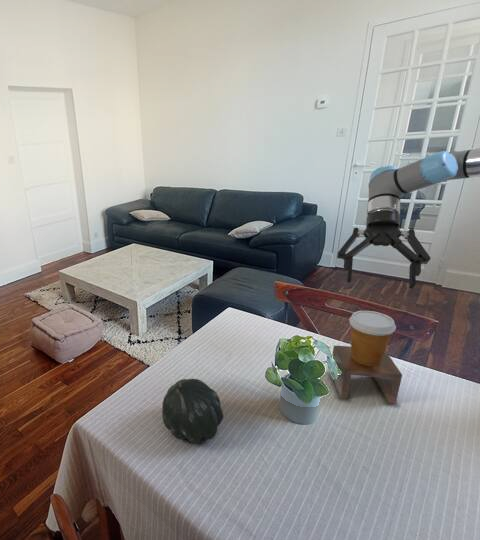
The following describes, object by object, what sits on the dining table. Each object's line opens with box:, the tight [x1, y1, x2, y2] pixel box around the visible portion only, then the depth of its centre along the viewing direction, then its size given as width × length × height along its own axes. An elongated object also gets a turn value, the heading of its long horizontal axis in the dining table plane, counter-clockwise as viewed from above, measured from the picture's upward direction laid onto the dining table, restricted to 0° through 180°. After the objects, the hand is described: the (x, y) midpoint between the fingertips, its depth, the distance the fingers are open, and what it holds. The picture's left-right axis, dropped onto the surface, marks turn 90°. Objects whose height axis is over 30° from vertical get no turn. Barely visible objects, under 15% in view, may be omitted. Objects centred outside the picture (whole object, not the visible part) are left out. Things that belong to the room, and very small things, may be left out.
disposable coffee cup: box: [348, 310, 397, 366], centre depth 86 cm, size 10×10×12 cm
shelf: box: [331, 345, 403, 405], centre depth 90 cm, size 12×11×9 cm
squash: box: [161, 378, 224, 444], centre depth 82 cm, size 14×15×15 cm
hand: (379, 283), depth 90 cm, fingers open, 13 cm apart
